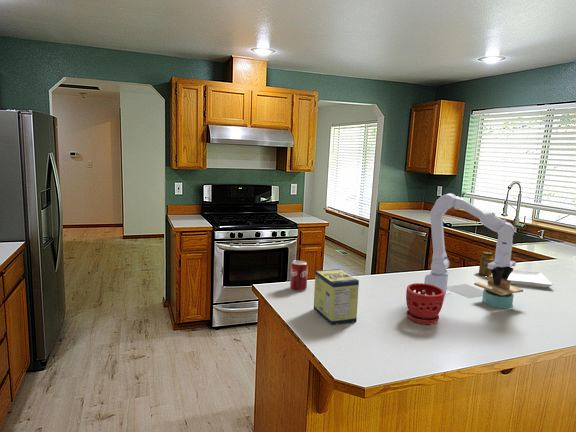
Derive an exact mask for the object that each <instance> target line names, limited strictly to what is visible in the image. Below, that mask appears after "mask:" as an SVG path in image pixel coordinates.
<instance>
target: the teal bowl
mask: <svg viewBox="0 0 576 432" xmlns="http://www.w3.org/2000/svg"><path fill="white" fill-rule="evenodd" d="M514 296H515V294H514V293H513V294H507V295H499V294H497V293H494V292H492V291H489V290H487V289H484V288H483V296H482V299H481V300H482V301H481V302H483V304H485V305H488V306H490V307H493V308H498V309H505V310H511V309H512V308H513V303H514Z"/></svg>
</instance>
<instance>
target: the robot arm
mask: <svg viewBox="0 0 576 432" xmlns="http://www.w3.org/2000/svg"><path fill="white" fill-rule="evenodd" d="M452 208H453V209H454V210H463V211H465V212H466V213H468V214H470V215H471V216H474V217H475V218H477V219H479V223H480V224H481V225H483V226H485V227H486V228H488V229H490V230H491V231H493V232H496V234H497V240H496V246H495V254H494V260H493V262H492V263H488V268H489V269H490V270H491V273H492V276H493V281H494V284H495V285H500V282H501V278H504V279H508V277H509V275H510V273H511V272H512V271H513V270H514V267H516V265H517V264H516V263H517V262H516V261H514V260H511V258H512V251H513V241H514V238H513V237H514V235H515V227H514V225H513V224H512V223H511V222H510V221H507V220H506V219H502V218H501V217H498V215H496V213H495V212H493V211H492V212H490V211H487V212H486V211H485V212H484V211H483V210H481V209H479V208H478V207H476V206H475V205H473V204H472V203H470V202H469V201H467V200H465V199H464V198H462V197H460V196H458V195H457V196H456V194H454V193H450V192H449V193H446V194H443V195H441V196H440V197H438V199H436V200H435V203H434V205H433V206H432V208H431V210H430V213H429V214H430V217H429V218H430V227H431V228H430V229H431V240H432V241H431V242H432V251H433V253H432V259H431V263H430V273H428V274H426V275H425V276H424V281H423V284H430V285H434V286H436V287H439V288H441V289H442V290H443V291H444V295H447V294H448V295H450V294H451V291H450V292H449V290H448V291H447V287H448V278H449V272H448V270H447V269H448V268H449V267H450V264H451V263H450V260H449V258H448V256H447V252H446V246H445V244H446V243H445V231H444V220H443V219H444V217H443V216H444V215H445V214H446V213H447V212H448V211H449V210H450V209H452ZM423 292H425V290H423ZM432 294H433V295H435V293H434V292H433V293H432Z"/></svg>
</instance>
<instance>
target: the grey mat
mask: <svg viewBox="0 0 576 432" xmlns="http://www.w3.org/2000/svg"><path fill="white" fill-rule="evenodd" d="M447 290H448V291H450V292H453V293H455V294H457V295H460V296H462V297H466V298H467V299H472V298H479V297H483V291H484V289H480V288H478V287H475V286H472V285H469V284H468V283H461V284H457V285H449V286H448V285H447ZM447 290H446V291H447Z"/></svg>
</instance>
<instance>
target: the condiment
mask: <svg viewBox="0 0 576 432" xmlns="http://www.w3.org/2000/svg"><path fill="white" fill-rule="evenodd" d="M492 262H494V253H493V252H490V251H482V252H481V257H480V260H479V267H478V268H479V269H478V272H477V273H473V275H475V276H478V277H481V278H487V279H488V277H489V275H492V273H491V270H490V269H489V268H488V263H492ZM485 276H487V277H485Z"/></svg>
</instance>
